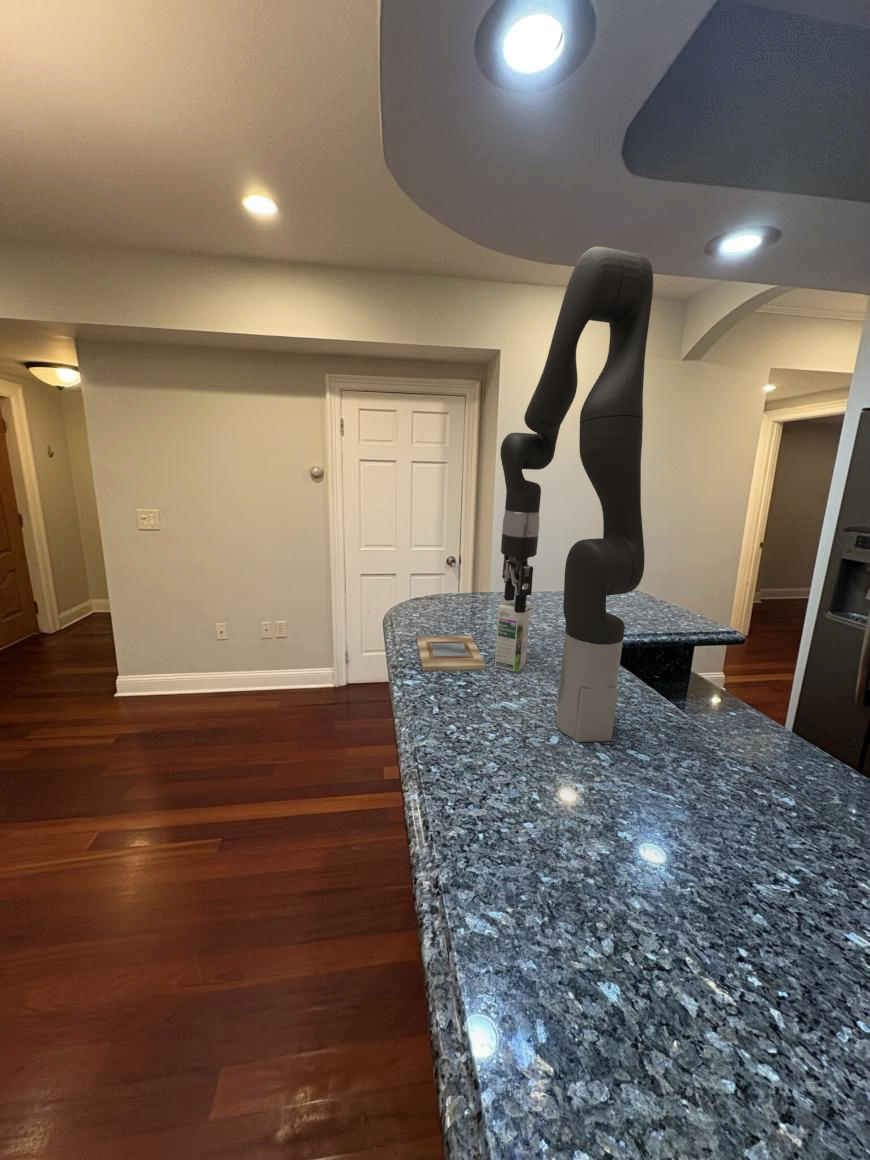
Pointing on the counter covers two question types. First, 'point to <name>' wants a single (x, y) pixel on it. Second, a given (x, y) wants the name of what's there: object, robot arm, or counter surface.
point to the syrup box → (511, 637)
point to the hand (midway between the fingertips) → (514, 605)
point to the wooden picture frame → (449, 653)
